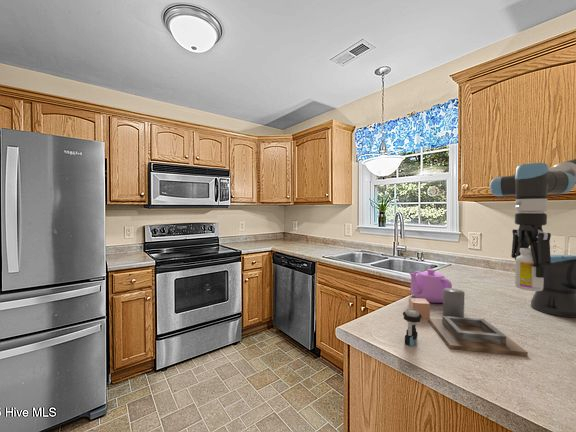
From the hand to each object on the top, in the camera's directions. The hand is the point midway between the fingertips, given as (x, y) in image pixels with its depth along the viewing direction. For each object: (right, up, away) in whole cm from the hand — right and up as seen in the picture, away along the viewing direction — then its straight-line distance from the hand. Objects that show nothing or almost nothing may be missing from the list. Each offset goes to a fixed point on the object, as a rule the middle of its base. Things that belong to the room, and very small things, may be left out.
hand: (529, 283), depth 85 cm
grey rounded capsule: (-13, -17, +18) cm, 28 cm away
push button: (-39, -18, -2) cm, 43 cm away
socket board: (-17, -18, +2) cm, 25 cm away
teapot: (-13, -17, +38) cm, 43 cm away
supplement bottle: (0, -2, 0) cm, 2 cm away
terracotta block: (-26, -17, +19) cm, 37 cm away
